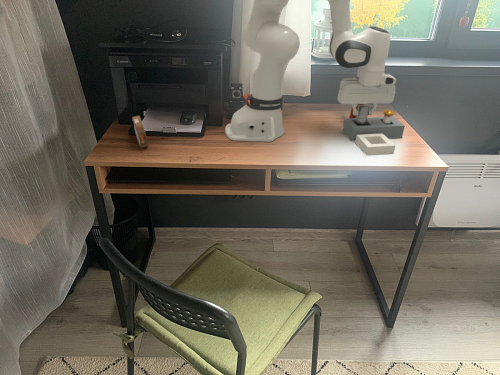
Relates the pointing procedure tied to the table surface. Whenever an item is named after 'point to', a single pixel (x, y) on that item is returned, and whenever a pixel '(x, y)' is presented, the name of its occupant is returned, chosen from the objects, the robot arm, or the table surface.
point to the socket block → (373, 128)
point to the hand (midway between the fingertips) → (362, 114)
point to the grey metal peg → (362, 115)
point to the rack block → (375, 144)
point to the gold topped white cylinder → (387, 116)
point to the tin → (140, 131)
